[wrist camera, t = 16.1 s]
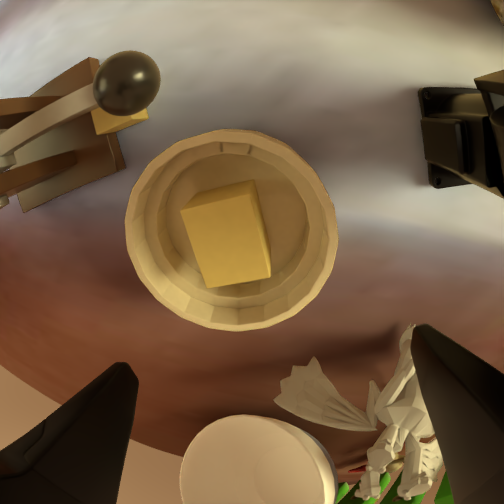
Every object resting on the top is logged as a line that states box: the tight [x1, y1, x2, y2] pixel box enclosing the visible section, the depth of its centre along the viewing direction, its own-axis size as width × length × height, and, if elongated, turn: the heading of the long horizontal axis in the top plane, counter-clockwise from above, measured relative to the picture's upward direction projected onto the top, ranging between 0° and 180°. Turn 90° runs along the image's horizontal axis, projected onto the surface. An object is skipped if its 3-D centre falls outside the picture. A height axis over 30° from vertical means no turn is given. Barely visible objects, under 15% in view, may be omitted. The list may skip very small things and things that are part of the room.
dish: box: [124, 129, 339, 331], centre depth 17 cm, size 11×11×4 cm
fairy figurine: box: [273, 324, 443, 500], centre depth 17 cm, size 10×18×14 cm, turn 68°
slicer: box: [0, 57, 126, 213], centre depth 12 cm, size 10×8×9 cm
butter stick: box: [91, 107, 149, 135], centre depth 14 cm, size 2×3×2 cm
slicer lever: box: [0, 51, 161, 173], centre depth 10 cm, size 12×3×3 cm, turn 103°
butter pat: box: [180, 179, 271, 288], centre depth 16 cm, size 4×4×4 cm
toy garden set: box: [335, 452, 454, 504], centre depth 23 cm, size 23×19×5 cm
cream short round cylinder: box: [179, 414, 338, 504], centre depth 23 cm, size 16×16×10 cm
